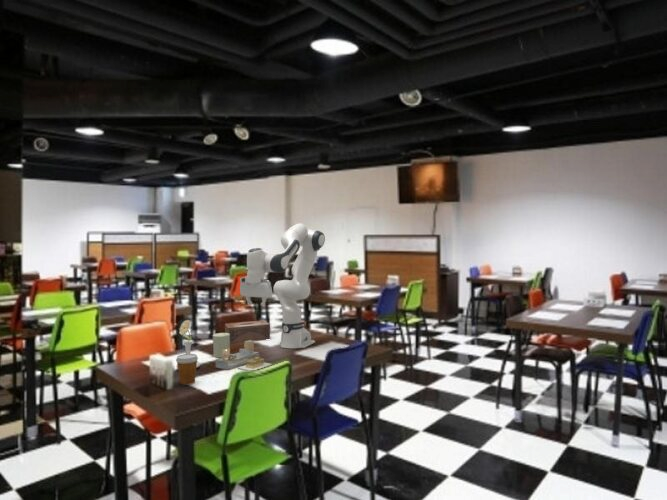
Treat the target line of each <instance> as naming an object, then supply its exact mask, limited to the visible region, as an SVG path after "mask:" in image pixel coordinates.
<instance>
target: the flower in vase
mask: <svg viewBox="0 0 667 500" xmlns="http://www.w3.org/2000/svg"><path fill="white" fill-rule="evenodd" d="M190 327H191V321H190V320H189V319H186V320H184V321H183V322H182V323H181V325H180V327H179V329H178V330H179V334H180V335H181V336H184V337H185V338H186V340H182V343H183V345H184V348H185V354H192V353H191V347H192V344H193V342H194V340H193V339H192V335H191V334H190V333H191V332H190V331H189V330H190ZM187 333H188V334H189V335H188V334H187ZM200 366H201V362H200V361H199V360H198V359H197V365H196V369H197V368H199V367H200ZM176 368H177V369H178V365H177V364H176Z"/></svg>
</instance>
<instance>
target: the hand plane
mask: <svg viewBox="0 0 667 500" xmlns="http://www.w3.org/2000/svg"><path fill="white" fill-rule="evenodd" d="M254 342H255V341H252V340H248V341H245V342H243V346H244V347H243V348H239V352H236V353H231V348H230V349H223V350H222V357H218V358H216V359H215V368H218V369H221V370H226V371H231V370H233V369H236V368H239V367H242V366H245V365H246V361H247V360H250V359H253V358H254V357H260V352H259V351H255V349H254V348H255V346H254Z"/></svg>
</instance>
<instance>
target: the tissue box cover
mask: <svg viewBox="0 0 667 500" xmlns="http://www.w3.org/2000/svg"><path fill="white" fill-rule="evenodd" d="M270 327H271V325H270V323H269V322H268V321H266V320H264V319H263V320H253V321H241V322H229V323H225V324H224V333H229V334H230V344H237V343H244V342H245V341H248V340H252V341H254V342H260V341H267V340H266V339H270V340H271V330H270V329H271V328H270Z"/></svg>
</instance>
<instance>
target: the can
mask: <svg viewBox="0 0 667 500" xmlns="http://www.w3.org/2000/svg"><path fill="white" fill-rule="evenodd" d="M212 343H213V344H212V345H213V346H212V347H213V351H212V352H213V353H212V355H213V357H214V358H222V350H223V349H230V350H231V346H230V345H231V343H230V334H229V333H225V332H219V333H214V334H212Z"/></svg>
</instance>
